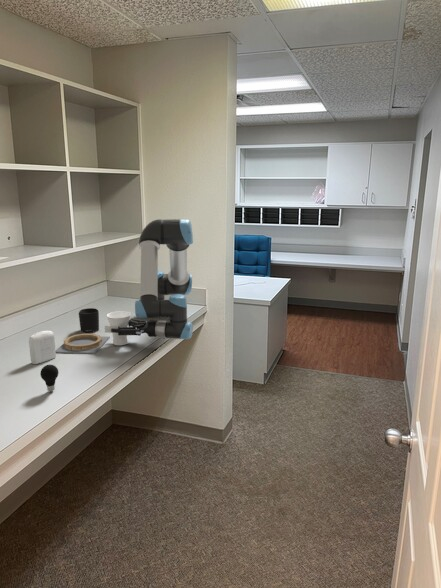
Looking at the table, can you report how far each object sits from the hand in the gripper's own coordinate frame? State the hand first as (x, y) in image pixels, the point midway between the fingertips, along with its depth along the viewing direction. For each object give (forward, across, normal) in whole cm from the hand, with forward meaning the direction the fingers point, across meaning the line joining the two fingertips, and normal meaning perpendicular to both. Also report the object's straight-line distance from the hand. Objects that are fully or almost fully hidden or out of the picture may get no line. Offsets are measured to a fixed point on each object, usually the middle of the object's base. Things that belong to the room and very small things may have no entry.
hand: (109, 325), depth 201 cm
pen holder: (+17, +14, -9) cm, 24 cm away
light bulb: (+1, -49, -8) cm, 50 cm away
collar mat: (+11, -5, -8) cm, 15 cm away
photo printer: (+19, -24, -8) cm, 32 cm away
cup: (-5, 0, -8) cm, 9 cm away
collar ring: (+11, -5, -8) cm, 15 cm away
